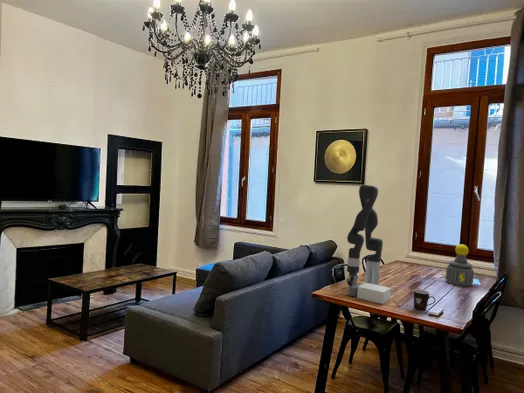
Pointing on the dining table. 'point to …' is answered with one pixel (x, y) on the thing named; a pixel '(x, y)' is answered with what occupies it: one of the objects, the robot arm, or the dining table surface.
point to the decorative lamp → (460, 268)
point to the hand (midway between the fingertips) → (351, 291)
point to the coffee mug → (421, 299)
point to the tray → (354, 289)
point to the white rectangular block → (374, 293)
